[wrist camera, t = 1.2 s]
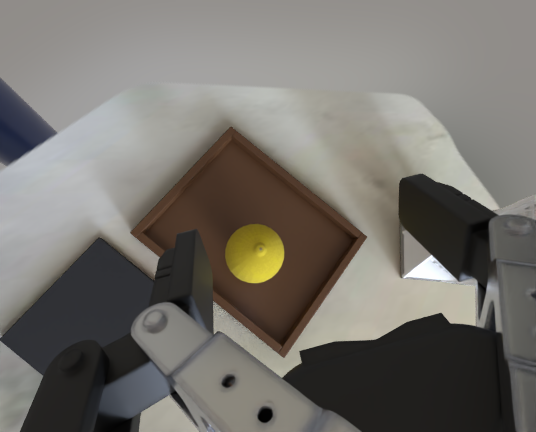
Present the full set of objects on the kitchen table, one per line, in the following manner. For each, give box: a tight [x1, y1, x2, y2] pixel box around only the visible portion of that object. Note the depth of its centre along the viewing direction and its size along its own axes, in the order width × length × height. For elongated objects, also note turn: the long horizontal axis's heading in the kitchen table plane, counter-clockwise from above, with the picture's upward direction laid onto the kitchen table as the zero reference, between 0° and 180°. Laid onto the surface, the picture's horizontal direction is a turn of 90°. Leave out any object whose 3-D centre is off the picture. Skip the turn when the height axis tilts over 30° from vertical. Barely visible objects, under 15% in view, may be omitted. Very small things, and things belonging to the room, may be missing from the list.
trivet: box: [0, 238, 154, 376], centre depth 30 cm, size 12×12×1 cm
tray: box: [130, 127, 367, 358], centre depth 34 cm, size 20×16×2 cm
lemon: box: [225, 224, 284, 283], centre depth 30 cm, size 6×6×8 cm
